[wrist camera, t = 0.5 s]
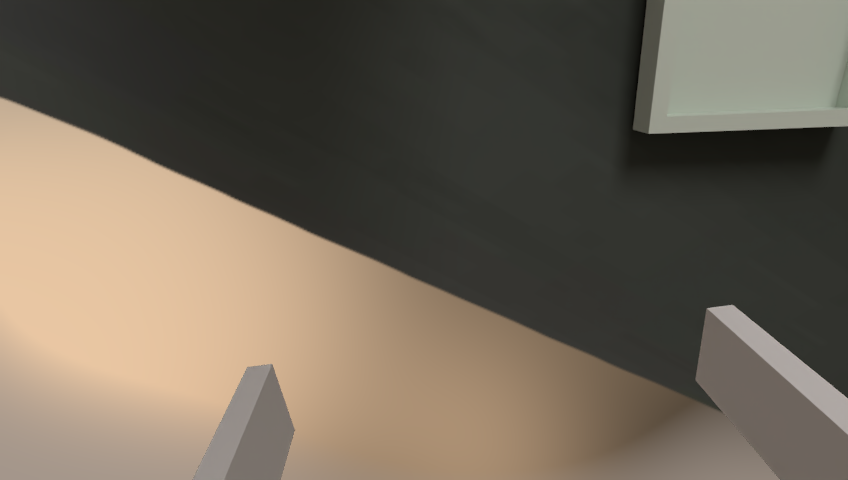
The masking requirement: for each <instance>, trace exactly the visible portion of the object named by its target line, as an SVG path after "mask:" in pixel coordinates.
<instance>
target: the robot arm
mask: <svg viewBox="0 0 848 480" xmlns="http://www.w3.org/2000/svg"><path fill="white" fill-rule="evenodd" d="M696 381H697V382H698V384H699V385H700V386H701V387H702V388H703V389H704V391H705V392H706V393H707V394H708V395H709V397H710V398H711V399H712V400H713V401H714V402H715V404H716V405H717V406H718V407H719V408H720V410H721V411H722V412H723V413H724V414H725V415H726V417H727V418H728V419H729V420H730V421H731V422H732V424H733V425H734V426H735V427H736V428H737V429H738V431H739V432H740V433H741V434H742V435H743V437H744V438H745V439H746V440H747V441H748V442H749V444H750V445H751V446H752V447H753V448H754V449H755V451H756V452H757V453H758V454H759V455H760V457H761V458H762V459H763V460H764V461H765V463H766V464H767V465H768V466H769V467H770V468H771V470H772V471H773V472H774V473H775V474H776V476H777V477H778V478H779V479H780V480H848V398H846V397H845V396H844V395H843V394H841V393H840V392H839V391H838V390H837V389H835V388H834V387H833V386H832V385H830V384H829V383H828V382H827V381H826V380H824V379H823V378H822V377H821V376H819V375H818V374H817V373H816V372H814V371H813V370H812V369H811V368H810V367H808V366H807V365H806V364H805V363H803V362H802V361H801V360H800V359H799V358H797V357H796V356H795V355H794V354H792V353H791V352H790V351H789V350H787V349H786V348H785V347H784V346H783V345H781V344H780V343H779V342H778V341H776V340H775V339H774V338H773V337H771V336H770V335H769V334H768V333H767V332H765V331H764V330H763V329H762V328H760V327H759V326H758V325H757V324H756V323H754V322H753V321H752V320H751V319H749V318H748V317H747V316H746V315H744V314H743V313H742V312H741V311H740V310H738V309H737V308H736V307H735V306H733V305H729V306H721V307H713V308H707V310H706V317H705V323H704V329H703V336H702V342H701V348H700V355H699V361H698V367H697V374H696ZM294 431H295V430H294V427H293V424H292V421H291V418H290V415H289V412H288V409H287V406H286V403H285V400H284V398H283V394H282V392H281V389H280V386H279V383H278V380H277V377H276V374H275V371H274V368H273V365H272V364H269V365H261V366H253V367H247V369H246V371H245V373H244V375H243V377H242V379H241V381H240V384H239V385H238V387H237V389H236V392H235V394H234V396H233V398H232V400H231V402H230V404H229V406H228V408H227V410H226V412H225V414H224V416H223V418H222V421H221V422H220V424H219V427H218V428H217V431H216V433H215V435H214V437H213V439H212V441H211V443H210V445H209V447H208V449H207V451H206V453H205V455H204V457H203V459H202V461H201V464H200V465H199V468H198V470H197V472H196V474H195V476H194V478H193V480H280V479H281V476H282V472H283V469H284V466H285V462H286V459H287V455H288V452H289V448H290V445H291V441H292V438H293V434H294Z"/></svg>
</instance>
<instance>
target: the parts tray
mask: <svg viewBox="0 0 848 480" xmlns="http://www.w3.org/2000/svg"><path fill="white" fill-rule="evenodd" d="M837 126H848V0H647V5H646V14H645V23H644V32H643V41H642V50H641V59H640V68H639V78H638V87H637V96H636V105H635V114H634V123H633V130H636V131H639V132H643V133H647V134H659V133H684V132H710V131H735V130H760V129H786V128H811V127H837Z"/></svg>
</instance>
